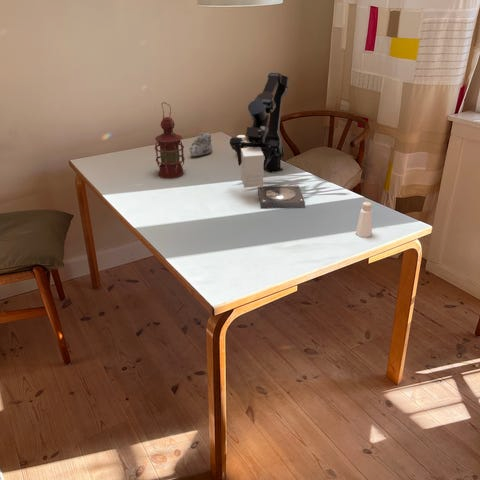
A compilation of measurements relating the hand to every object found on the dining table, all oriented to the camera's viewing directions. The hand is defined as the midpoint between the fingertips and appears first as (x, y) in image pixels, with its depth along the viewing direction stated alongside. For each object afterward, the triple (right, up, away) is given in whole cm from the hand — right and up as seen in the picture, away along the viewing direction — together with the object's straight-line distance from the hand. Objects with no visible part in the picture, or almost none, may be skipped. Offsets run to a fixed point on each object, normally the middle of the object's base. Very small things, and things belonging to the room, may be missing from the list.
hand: (251, 166), depth 190 cm
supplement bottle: (-4, +11, +51) cm, 52 cm away
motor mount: (+11, -11, +6) cm, 17 cm away
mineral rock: (-23, +13, +54) cm, 60 cm away
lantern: (-33, +1, +31) cm, 46 cm away
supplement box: (0, -6, +5) cm, 7 cm away
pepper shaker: (+36, -25, -19) cm, 48 cm away
